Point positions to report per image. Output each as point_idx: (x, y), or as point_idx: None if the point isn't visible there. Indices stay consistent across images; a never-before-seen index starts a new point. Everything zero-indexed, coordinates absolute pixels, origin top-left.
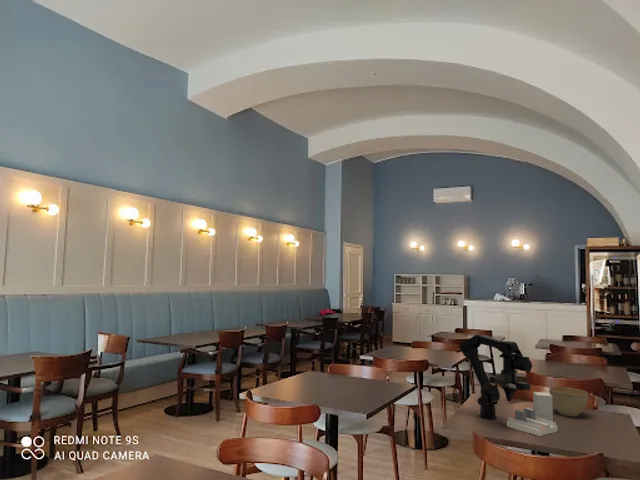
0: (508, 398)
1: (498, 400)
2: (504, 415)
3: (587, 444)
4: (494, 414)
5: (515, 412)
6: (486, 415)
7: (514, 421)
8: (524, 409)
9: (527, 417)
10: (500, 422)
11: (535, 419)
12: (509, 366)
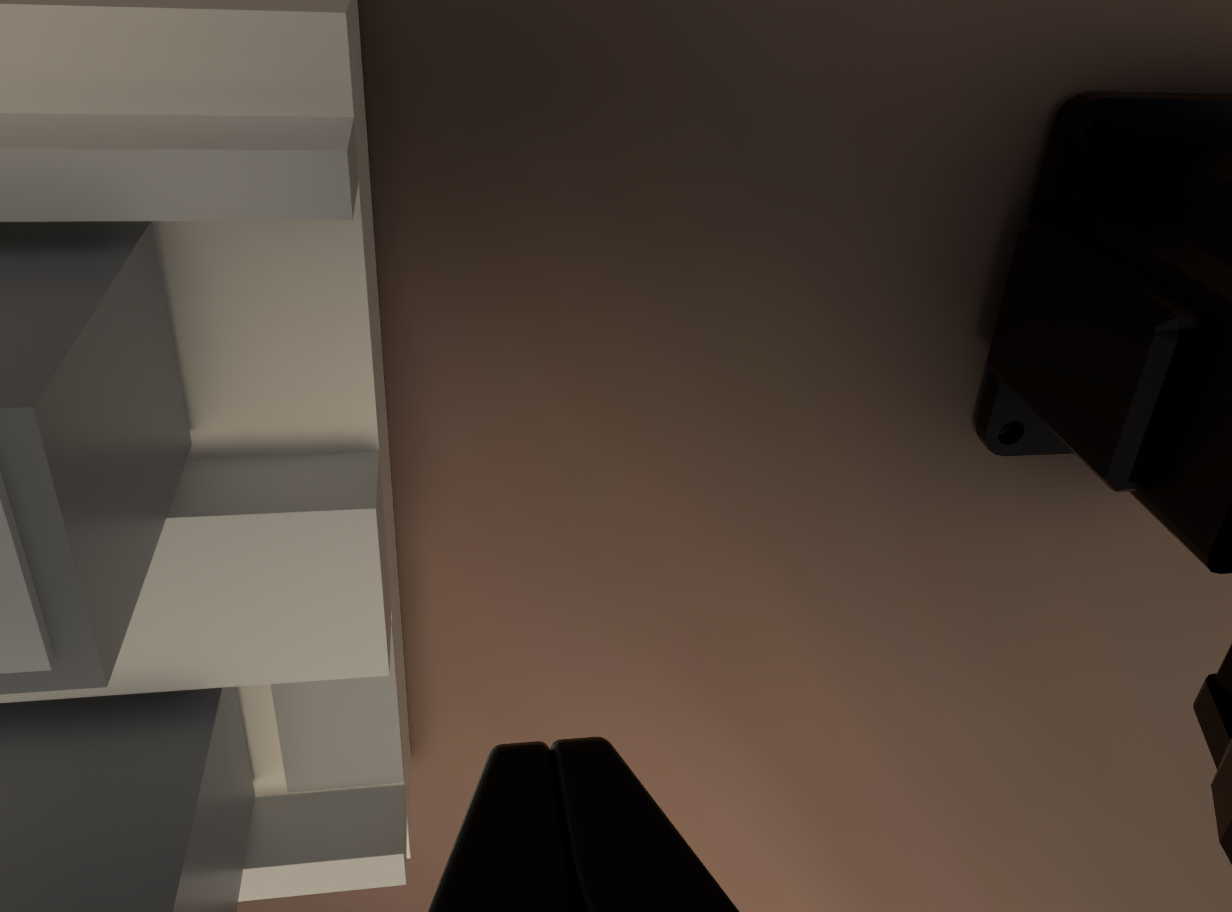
0: (544, 876)
1: (1215, 782)
2: (935, 718)
3: None
4: (1035, 356)
5: (18, 366)
6: (1207, 158)
7: (71, 124)
8: (130, 907)
9: (70, 719)
10: (715, 180)
11: None
12: None
